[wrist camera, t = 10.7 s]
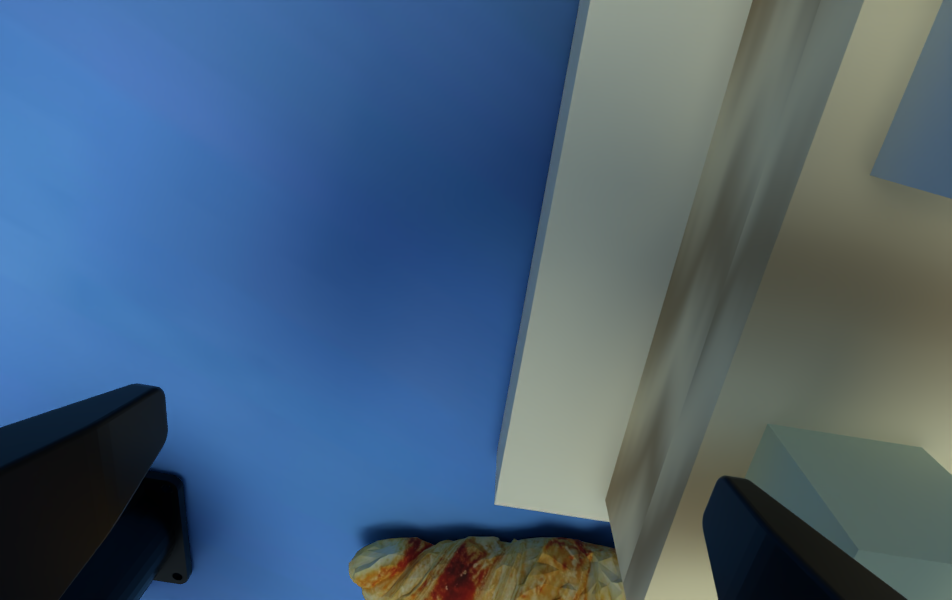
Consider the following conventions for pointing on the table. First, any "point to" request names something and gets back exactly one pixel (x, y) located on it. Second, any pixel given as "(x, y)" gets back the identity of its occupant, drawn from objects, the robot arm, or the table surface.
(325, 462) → the table surface
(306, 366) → the table surface
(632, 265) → the dock
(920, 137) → the blue-grey cube
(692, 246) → the wooden block
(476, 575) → the croissant
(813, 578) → the robot arm
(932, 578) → the grey-green cube
